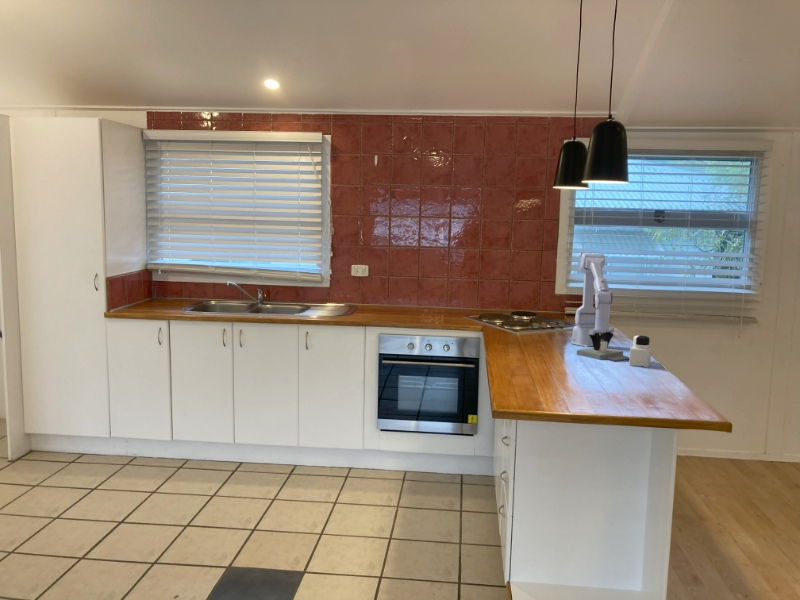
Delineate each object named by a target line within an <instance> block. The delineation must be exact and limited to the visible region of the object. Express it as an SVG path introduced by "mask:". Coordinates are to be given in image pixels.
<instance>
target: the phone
mask: <svg viewBox="0 0 800 600" xmlns="http://www.w3.org/2000/svg"><path fill="white" fill-rule="evenodd" d="M629 359H630V357H626V356H618V357H610V358H606V359H605V360H606V361H611V362H613V363H617V362H625V361H624V360H627V361H629Z"/></svg>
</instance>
